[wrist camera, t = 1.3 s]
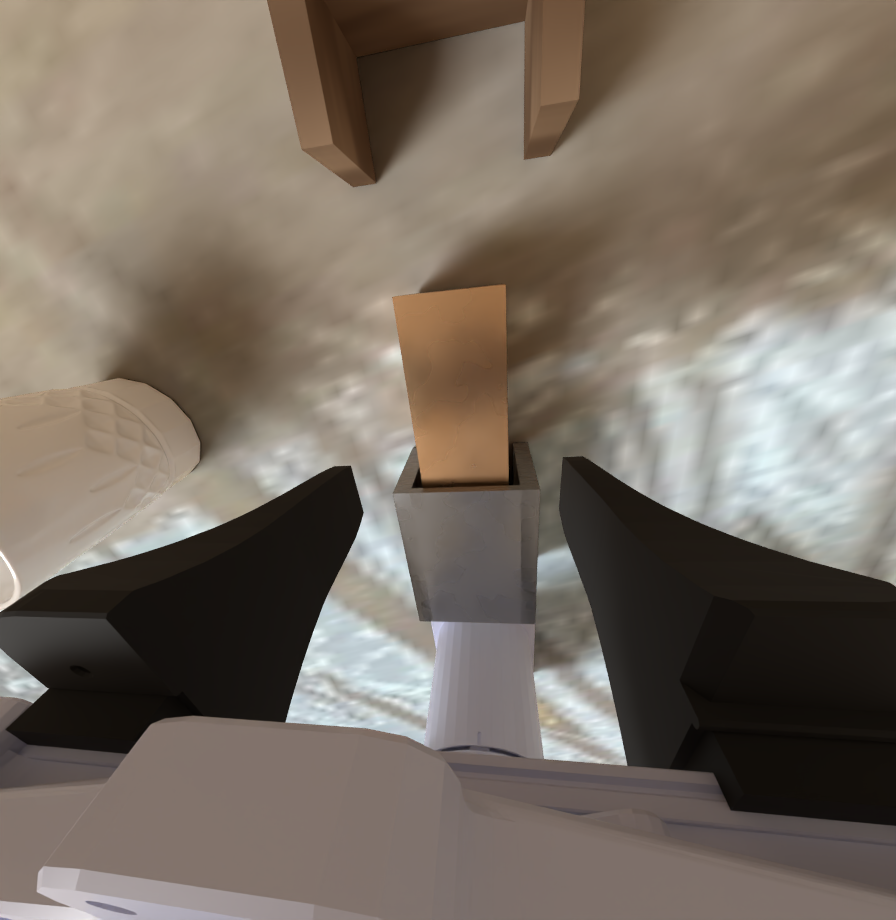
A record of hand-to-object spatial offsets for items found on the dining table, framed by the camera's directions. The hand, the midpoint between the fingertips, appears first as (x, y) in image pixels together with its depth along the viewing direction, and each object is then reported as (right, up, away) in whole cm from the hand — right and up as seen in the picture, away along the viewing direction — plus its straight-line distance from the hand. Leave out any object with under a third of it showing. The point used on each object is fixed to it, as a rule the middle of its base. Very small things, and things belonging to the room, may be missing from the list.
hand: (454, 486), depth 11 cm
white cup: (-19, +3, +10) cm, 21 cm away
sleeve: (+1, -2, +10) cm, 10 cm away
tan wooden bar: (+1, +2, +8) cm, 8 cm away
